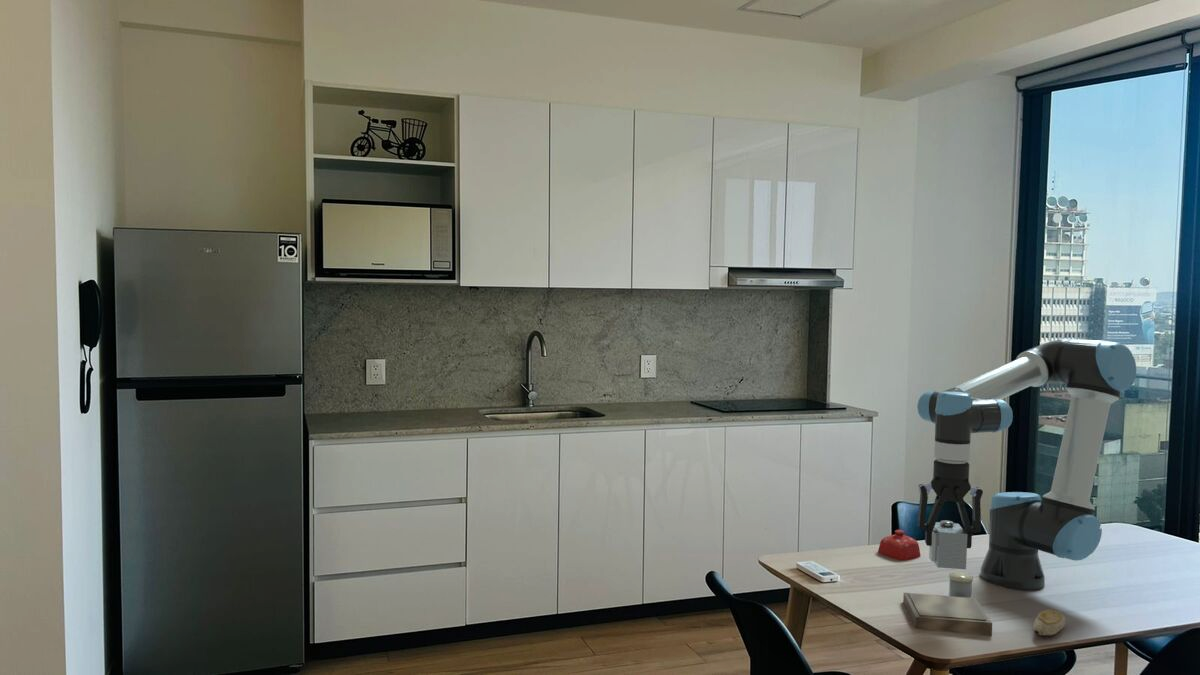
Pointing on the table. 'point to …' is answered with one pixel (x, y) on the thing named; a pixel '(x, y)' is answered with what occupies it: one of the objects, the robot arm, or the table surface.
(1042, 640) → the table surface
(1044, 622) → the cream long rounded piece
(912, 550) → the butter dish
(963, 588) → the slate ceramic salt pot
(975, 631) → the walnut riser
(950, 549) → the grey knobbed box
